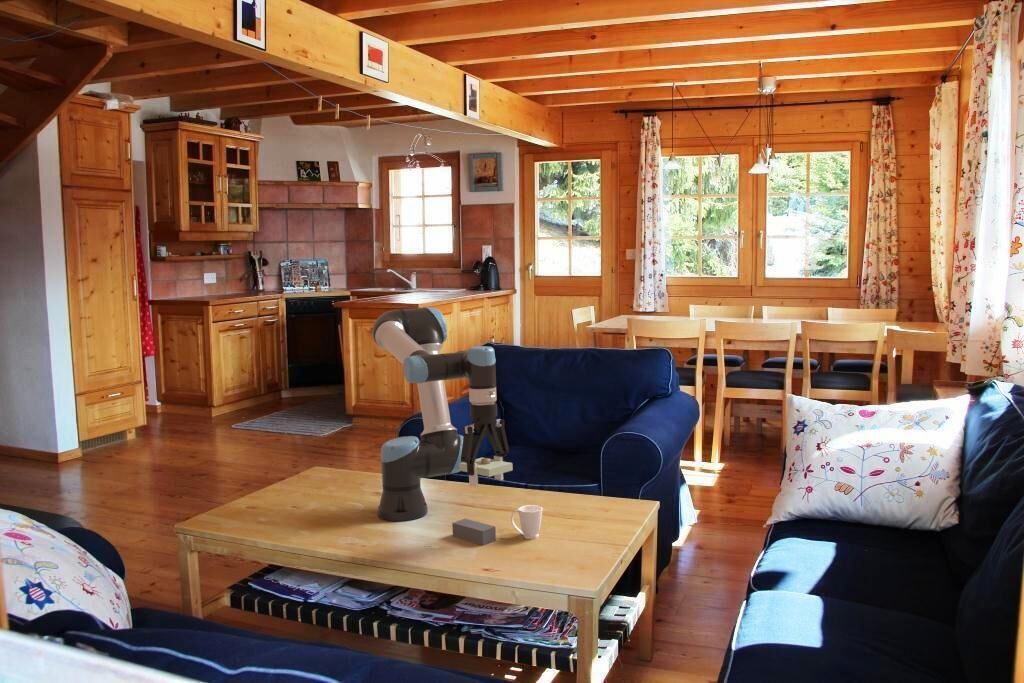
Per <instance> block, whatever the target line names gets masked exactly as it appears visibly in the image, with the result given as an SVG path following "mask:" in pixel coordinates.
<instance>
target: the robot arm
mask: <svg viewBox="0 0 1024 683" xmlns="http://www.w3.org/2000/svg"><path fill="white" fill-rule="evenodd" d="M446 322H447V321H446V319H445V316H444V315H443V313H442V311H440V310H439V309H438V308H435V307H424V306H423V307H416V308H404V309H403V308H402V309H401V308H400V309H391V310H387V311H386V312H383V313H382V314H380V315H379V316H378V317H377V318H376V320H375V322H374V323H373V325H372V328H371V329H372V330H371V333H372V334H371V336H372V338H373V341H374V343H375V344H376V345H377V346H378V347H379V348H380V349H382V350H383V351H388V352H389V353H390V354H391V355H392V356H393V357H394V358H396V360H397V361H398V362H400V364H402V373H403V376H404V379H405V381H406V382H407V383H409V384H414V383H415V384H417V392H418V396H419V403H420V410H421V417H422V422H423V423H422V424H423V431H422V432H421V433H420V439H419V437H417V436H415V435H414V436H413V435H408V436H399V437H396V438H395V437H394V438H392V439H390V440H388V441H386V442H384V443H383V444H382V446H381V448H380V451H381V452H380V461H381V462H380V463H381V480H382V491H381V492H382V493H381V497H380V500H379V505H378V507H377V516H378V517H379V518H380V519H382V520H384V521H389V522H390V521H391V522H401V521H402V522H406V521H412V520H417V519H420V518H422V517H423V518H424V516H426V515H427V514H428V504H427V502H426V499H425V496H424V493H423V491H422V486H421V479H425V478H432V477H437V476H444V475H445V476H446V475H447V476H449V475H451V474H452V475H453V474H457V473H459V472H461V471H459V463H463V462H465V463H467V472H466V473H467V475H468V481H469V482H468V483H469V487H473V488H478V487H479V478H478V477H479V476H478V474H477V463H475V460H476V459H477V456H478V453H479V449H480V446H481V442H483V441H484V438H485V437H487V438H488V439H489V442H490V444H491V447H492V448H493V451H494V453H495V455H494V456H493V460H498V461H504V462H505V459H504V458H505V457H506V456H507V454H508V453H509V451H510V448H509V443H508V438H507V434H506V429H505V420H504V419H503V418H502V419H501V418H496V417H497V416H498V404H497V375H496V361H497V360H496V355H495V349H494V348H493V347H492V346H486V345H485V346H484V345H483V346H482V345H479V346H478V345H477V346H471V347H469V348H468V350H459V351H458V350H457V351H456V352H448V353H440V351H441V350H442V349H443V348H444V343H445V342H446V340H447V338H448V325H447V323H446ZM460 379H468V395H469V396H468V398H469V399H468V400H469V402H470V404H469V415H470V418H471V424H470V425H464V426H463V427H462V430H463V431H462V432H463V435H461V434H458V428H456V427H455V426H453V424H452V422H451V416H450V409H449V403H448V397H447V390H446V385H445V381H447V380H449V381H450V380H460ZM494 480H499V481H503V480H504V473H501V474H497V475H494Z"/></svg>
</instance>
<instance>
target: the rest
mask: <svg viewBox="0 0 1024 683" xmlns="http://www.w3.org/2000/svg"><path fill="white" fill-rule="evenodd" d="M496 535H497V534H496V526H495V525H491V524H487V523H484V522H479V521H475V520H471V519H468V518H463V519H460V520H457V521H453V522H452V537H453V538H457V539H460V540H463V541H466V542H471V543H473V544H477V545H480V546H486V545H488V544H491V543H493V542H496V541H497V536H496Z"/></svg>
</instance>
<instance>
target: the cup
mask: <svg viewBox="0 0 1024 683" xmlns="http://www.w3.org/2000/svg"><path fill="white" fill-rule="evenodd" d="M516 512H518V516H519V521H520V523H519V524H520V526H521V529H520V528H519V527H518V526H517V525H516V523H515V521H514V520H515V513H516ZM542 516H543V507H542V506H540V505H537V504H527V505H522V506H519V507H518V509H515V510H512V513H511V516H510V518H511V520H510V521H511V525H512V526H513V528H514V529H515V530H516V532H518V533H519V534H520V535H522V536H523V538H525V539H527V540H528V539H529V540H531V539H532V540H533V539H538V538H539V537H540V534H539V533H540V530H541V524H542Z"/></svg>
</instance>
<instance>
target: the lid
mask: <svg viewBox="0 0 1024 683" xmlns="http://www.w3.org/2000/svg"><path fill="white" fill-rule="evenodd" d="M475 463H477V474H478V475H480V476H485V477H489V478H490V477H493V476H494V477H495V475H497V474H501V473H503V474H504V473H509V472H512V471H514V470H513V468H514V467H513V466H514V465H513V462H510V461H509V462H507V461H505V460H504V461H498V460H494V458H492V459H491V458H488V457H480V458H476V460H475ZM459 471H460V472H465V473H467V463H465V462H463V463H459Z"/></svg>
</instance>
